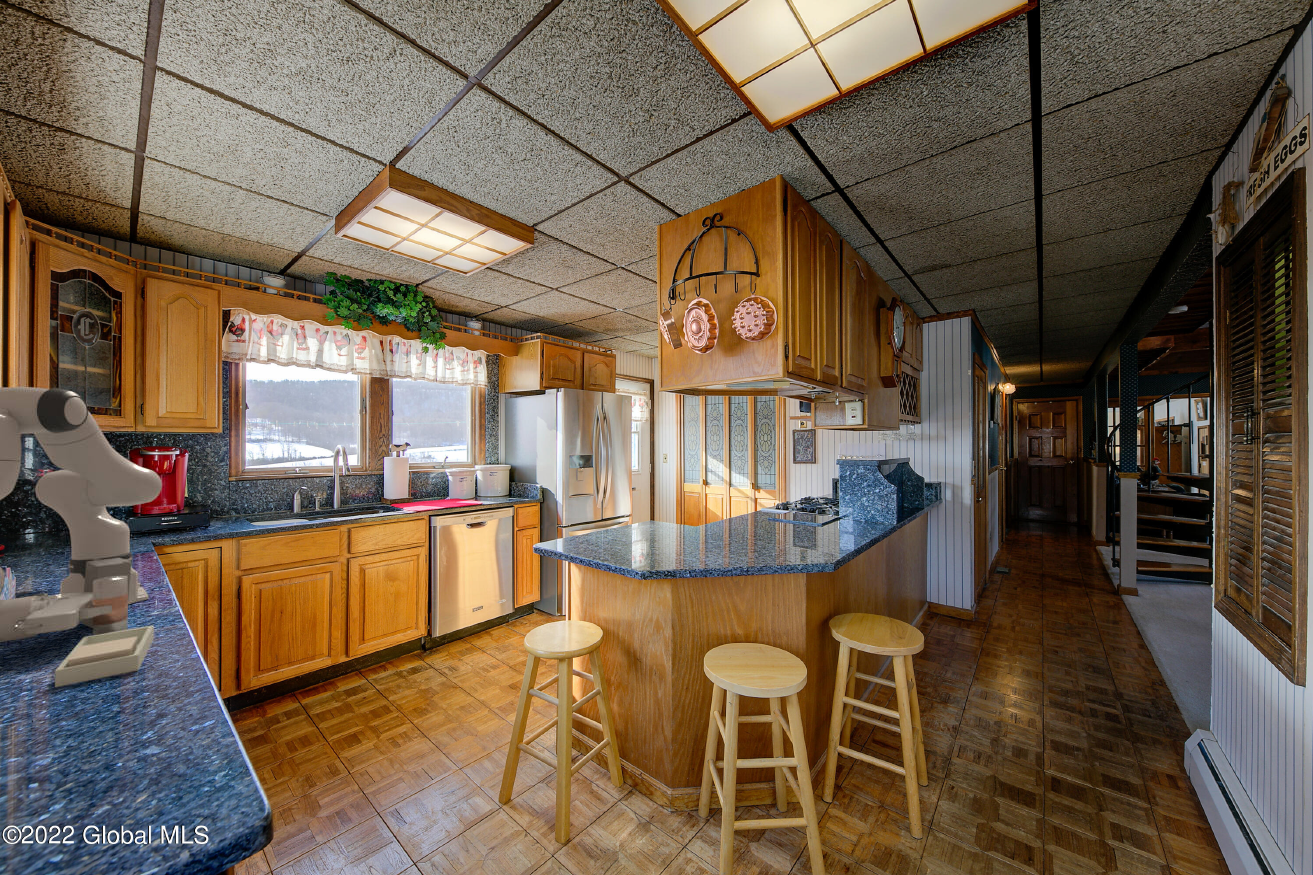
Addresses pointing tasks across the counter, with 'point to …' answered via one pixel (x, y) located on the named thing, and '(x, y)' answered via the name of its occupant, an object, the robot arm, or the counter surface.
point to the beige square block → (103, 651)
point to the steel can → (115, 594)
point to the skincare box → (104, 575)
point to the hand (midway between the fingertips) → (115, 604)
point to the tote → (106, 667)
